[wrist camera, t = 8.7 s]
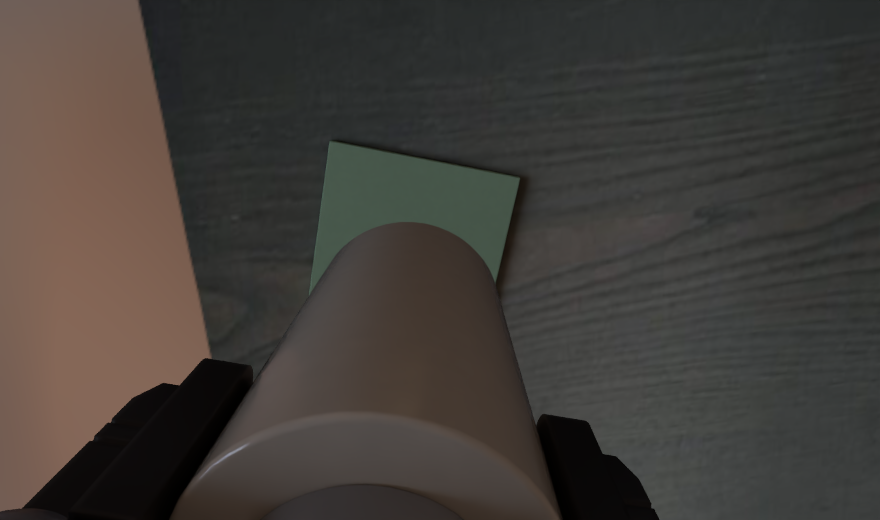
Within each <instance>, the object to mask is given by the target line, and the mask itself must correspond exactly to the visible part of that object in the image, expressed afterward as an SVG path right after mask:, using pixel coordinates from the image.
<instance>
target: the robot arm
mask: <svg viewBox="0 0 880 520" xmlns="http://www.w3.org/2000/svg"><path fill="white" fill-rule="evenodd" d="M252 383H253V369H252V367H251V366H250V365H244V364H238V363H232V362H226V361H220V360H214V359H208V358H205V359H203V360H202V361H201V362H200V363H199V364H198V365H197V366H196V368H195V369H194V370H193V371H192V372H191V373H190V374H189V376H188V377H187V378H186V379H185V380H184V381H183V382H182V383H181V385H180V386H179V385H173V384H167V383H162V384H160V385H158V386H156V387H154V388H152V389H150V390H148V391H146V392H144V393H142V394H140V395H138V396H136V397H134V398H132V399H131V400H130V401H129V402H128V403H127V404H126V406H124V407H123V408H122V409H121V410H120V411H119V412H118V413H117V414H116V415H115V416H114V417H113V418H112V422H111V423H107V424H106V425H105V426H104V427H103V428H102V429H101V430H100V431H99V432H98V433H97V434H96V435H95V436H94V440H93V441H89V442H88V443H87V444H86V445H85V446H84V447H83V448H82V449H81V450H80V451H79V452H78V453H77V454H76V455H75V456H74V457H73V458H72V459H71V460H70V461H69V462H68V463H67V464H66V465H65V466H64V467H63V468H62V469H61V470H60V471H59V472H58V473H57V474H56V475H55V476H54V477H53V478H52V479H51V480H50V481H49V482H48V483H47V484H46V485H45V486H44V487H43V488H42V489H41V490H40V491H39V492H38V493H37V494H36V495H35V496H34V497H33V498H32V499H31V500H30V501H29V502H28V503H27V504H26V505H25V506H24V507H23V508H22V509H13V510H6V511H1V512H0V520H168V518H169V516H170V514H171V512H172V510H173V508H174V506H175V504H176V502H177V500H178V499H179V497H180V495H181V494H182V492H183V491H184V489H185V488H186V486H187V484H188V483H189V481H190V480H191V478H192V477H193V475H194V474H195V472H196V471H197V469H198V467H199V466H200V464H201V463H202V461H203V460H204V458H205V457H206V455H207V453H208V452H209V450H210V449H211V447H212V446H213V444H214V443H215V441H216V439H217V438H218V436H219V435H220V433H221V432H222V430H223V429H224V427H225V425H226V424H227V422H228V421H229V419H230V418H231V416H232V415H233V413H234V411H235V410H236V408H237V407H238V405H239V404H240V402H241V401H242V399H243V397H244V396H245V394H246V393H247V391H248V390H249V388H250V387H251V385H252ZM536 427H537V431H538V434H539V438H540V441H541V445H542V448H543V452H544V455H545V459H546V462H547V466H548V469H549V473H550V476H551V480H552V483H553V487H554V490H555V494H556V497H557V501H558V504H559V508H560V511H561V515H562V518H563V520H659V518H658V516H657V514H656V512H655V510H654V509H652V508H651V502H650V500H649V498H648V496H647V494H646V492H645V490H644V488H643V486H642V484H641V482H640V480H639V479H638V478H637V477H636V476H635V475H634V474H633V473H632V472H631V471H630V470H629V469H628V468H627V467H626V466H625V465H624V464H623V463H622V462H621V461H620V460H619V459H618V458H617V457H616V456H611V455H605V454H602V452H601V449H600V447H599V445H598V443H597V440H596V438H595V436H594V434H593V431H592V429H591V427H590V425H589V423H588V422H587V421H584V420H578V419H572V418H565V417H559V416H553V415H547V414H542V415H541V416H540V418H539V420H538V422H537V425H536Z"/></svg>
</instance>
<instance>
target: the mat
mask: <svg viewBox="0 0 880 520" xmlns="http://www.w3.org/2000/svg"><path fill="white" fill-rule="evenodd" d="M519 182H520V177H519V176H514V175H509V174H504V173H498V172H493V171H488V170H483V169H478V168H473V167H468V166H462V165H457V164H452V163H447V162H442V161H437V160H432V159H426V158H421V157H416V156H411V155H406V154H401V153H396V152H390V151H385V150H380V149H375V148H370V147H365V146H360V145H354V144H349V143H344V142H339V141H334V140H331V141H330V143H329V150H328V157H327V165H326V172H325V180H324V187H323V195H322V202H321V209H320V217H319V224H318V232H317V239H316V247H315V254H314V261H313V269H312V276H311V284H310V291H309V295H310V293H311V292H312V290H313V289H314V287H315V285H316V284H317V282H318V281H319V279H320V278H321V276H322V275H323V273H324V271H325V270H326V268H327V267H328V265H329V264H330V262H331V261H332V259H333V258H334V257H335V255H336V254H337V253H338V252H339V251H340V250H341V249H342V248H343V247H344V246H345V245H346V244H347V243H348V242H350V241H351V240H352V239H353V238H355V237H357V236H358V235H360V234H362V233H363V232H365V231H368V230H370V229H372V228H375V227H378V226H381V225H385V224H390V223H397V222H417V223H425V224H429V225H433V226H437V227H439V228H442V229H445V230H447V231H449V232H451V233H453V234H455V235H457V236H458V237H460V238H461V239H462V240H464V241H465V242H467V243H468V244H469V245H470V246H471V247H472V248H473V249H474V250H475V251H476V252H477V253H478V254H479V255H480V256H481V258H482V259H483V260H484V261H485V263H486V265H487V266H488V268H489V270H490V272H491V274H492V276H493V279H494V281H495V284H496V280H497V276H498V272H499V268H500V263H501V259H502V255H503V250H504V246H505V242H506V238H507V233H508V229H509V225H510V221H511V216H512V212H513V208H514V204H515V199H516V195H517V191H518V187H519Z"/></svg>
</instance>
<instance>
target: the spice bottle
mask: <svg viewBox="0 0 880 520" xmlns="http://www.w3.org/2000/svg"><path fill="white" fill-rule="evenodd" d="M168 520H563V518H562V515H561V511H560V508H559V504H558V501H557V497H556V494H555V490H554V487H553V483H552V480H551V476H550V473H549V469H548V466H547V462H546V459H545V455H544V452H543V448H542V445H541V441H540V438H539V434H538V431H537V427H536V424H535V420H534V417H533V413H532V410H531V406H530V403H529V400H528V396H527V393H526V389H525V386H524V382H523V379H522V375H521V372H520V368H519V365H518V361H517V358H516V354H515V351H514V347H513V344H512V340H511V337H510V333H509V330H508V326H507V323H506V319H505V316H504V312H503V309H502V305H501V302H500V298H499V295H498V291H497V288H496V284H495V281H494V279H493V276H492V274H491V272H490V270H489V268H488V266H487V265H486V263H485V261H484V260H483V259H482V258H481V256H480V255H479V254H478V253H477V252H476V251H475V250H474V249H473V248H472V247H471V246H470V245H469V244H468V243H467V242H465V241H464V240H462V239H461V238H460V237H458V236H457V235H455V234H453V233H451V232H449V231H447V230H445V229H442V228H439V227H437V226H433V225H429V224H425V223H417V222H397V223H390V224H385V225H381V226H378V227H375V228H372V229H370V230H368V231H365V232H363V233H362V234H360V235H358V236H357V237H355V238H353V239H352V240H351V241H350V242H348V243H347V244H346V245H345V246H344V247H343V248H342V249H341V250H340V251H339V252H338V253H337V254H336V255H335V257H334V258H333V259H332V261H331V262H330V264H329V265H328V267H327V268H326V270H325V271H324V273H323V275H322V276H321V278H320V279H319V281H318V282H317V284H316V285H315V287H314V289H313V290H312V292H311V293H310V295H309V296H308V298H307V299H306V301H305V303H304V304H303V306H302V307H301V309H300V310H299V312H298V313H297V315H296V317H295V318H294V320H293V321H292V323H291V324H290V326H289V327H288V329H287V331H286V332H285V334H284V335H283V337H282V338H281V340H280V341H279V343H278V345H277V346H276V348H275V349H274V351H273V352H272V354H271V355H270V357H269V359H268V360H267V362H266V363H265V365H264V366H263V368H262V369H261V371H260V373H259V374H258V376H257V377H256V379H255V380H254V382H253V383H252V385H251V387H250V388H249V390H248V391H247V393H246V394H245V396H244V397H243V399H242V401H241V402H240V404H239V405H238V407H237V408H236V410H235V411H234V413H233V415H232V416H231V418H230V419H229V421H228V422H227V424H226V425H225V427H224V429H223V430H222V432H221V433H220V435H219V436H218V438H217V439H216V441H215V443H214V444H213V446H212V447H211V449H210V450H209V452H208V453H207V455H206V457H205V458H204V460H203V461H202V463H201V464H200V466H199V467H198V469H197V471H196V472H195V474H194V475H193V477H192V478H191V480H190V481H189V483H188V484H187V486H186V488H185V489H184V491H183V492H182V494H181V495H180V497H179V499H178V500H177V502H176V504H175V506H174V508H173V510H172V512H171V514H170V516H169V518H168Z"/></svg>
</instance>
